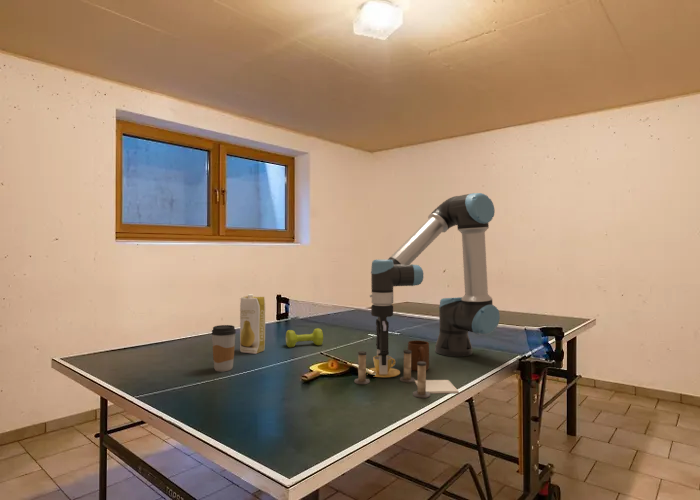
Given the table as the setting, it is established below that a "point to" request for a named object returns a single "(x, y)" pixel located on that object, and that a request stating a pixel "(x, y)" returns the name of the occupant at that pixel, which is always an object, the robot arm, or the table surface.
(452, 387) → the coaster
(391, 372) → the cup
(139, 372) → the table surface
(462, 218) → the robot arm
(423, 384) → the posts
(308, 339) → the dumbbell
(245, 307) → the juice carton
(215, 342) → the coffee cup
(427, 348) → the mug
